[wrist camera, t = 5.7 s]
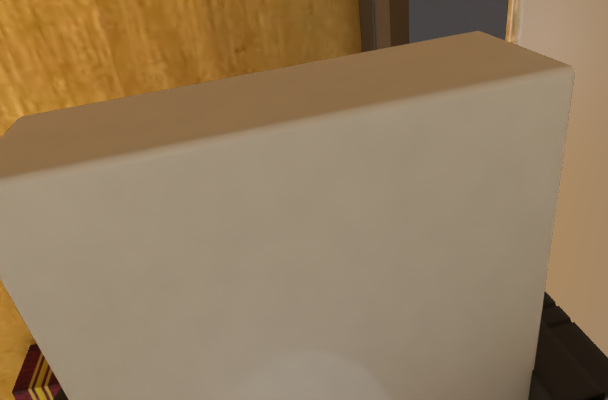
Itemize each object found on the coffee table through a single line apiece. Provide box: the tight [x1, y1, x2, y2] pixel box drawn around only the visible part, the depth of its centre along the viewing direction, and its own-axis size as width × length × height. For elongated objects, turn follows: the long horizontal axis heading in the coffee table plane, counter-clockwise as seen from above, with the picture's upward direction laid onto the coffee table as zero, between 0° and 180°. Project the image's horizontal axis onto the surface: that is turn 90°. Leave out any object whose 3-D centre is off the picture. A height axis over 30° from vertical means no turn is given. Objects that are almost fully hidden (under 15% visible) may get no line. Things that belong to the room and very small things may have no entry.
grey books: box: [359, 0, 508, 52], centre depth 25 cm, size 12×4×7 cm, turn 7°
